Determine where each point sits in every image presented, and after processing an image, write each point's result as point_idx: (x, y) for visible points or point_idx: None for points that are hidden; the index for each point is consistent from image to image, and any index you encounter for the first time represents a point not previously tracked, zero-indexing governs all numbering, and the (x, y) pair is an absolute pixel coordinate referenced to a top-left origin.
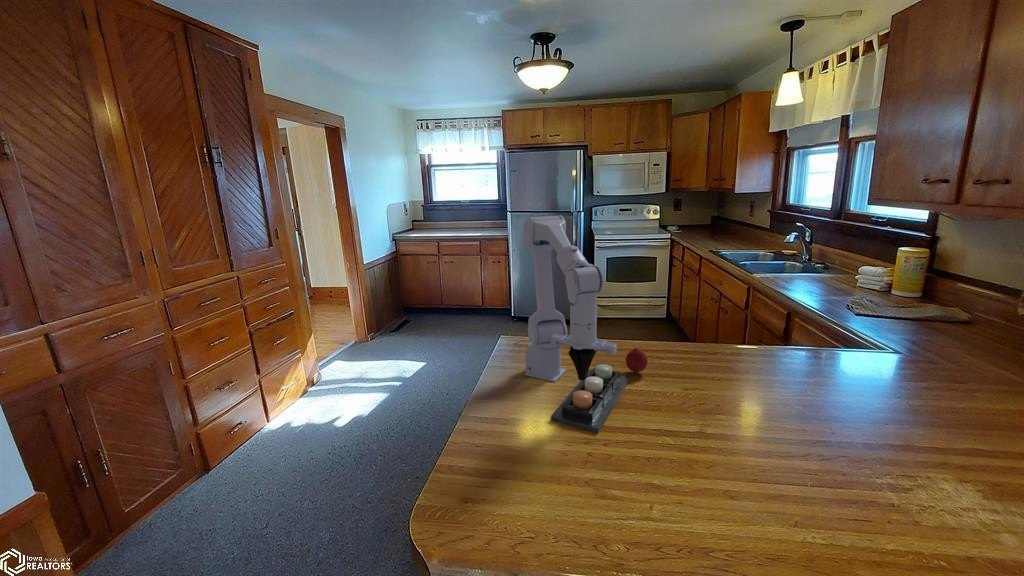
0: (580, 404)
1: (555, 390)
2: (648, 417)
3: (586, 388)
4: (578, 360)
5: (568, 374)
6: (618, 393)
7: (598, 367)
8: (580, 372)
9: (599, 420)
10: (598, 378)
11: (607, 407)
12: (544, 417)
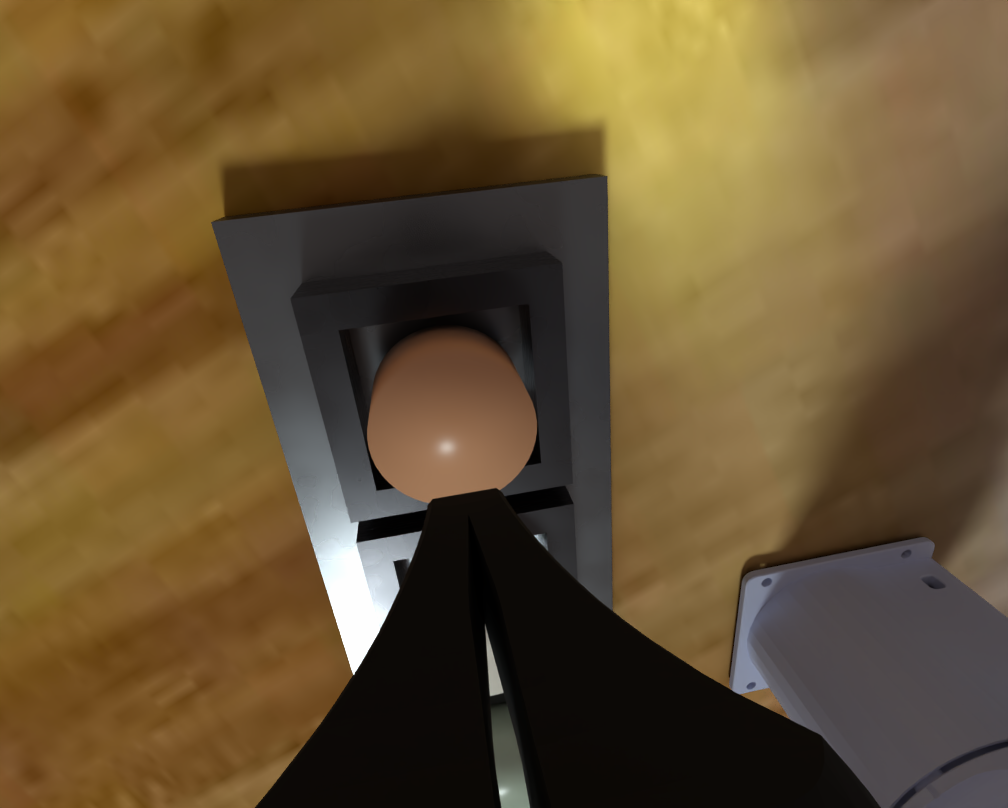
0: (428, 342)
1: (709, 504)
2: (84, 563)
3: None
4: (534, 704)
5: (703, 666)
6: (352, 655)
7: None
8: (479, 549)
9: (269, 326)
10: None
11: (319, 496)
12: (652, 188)
